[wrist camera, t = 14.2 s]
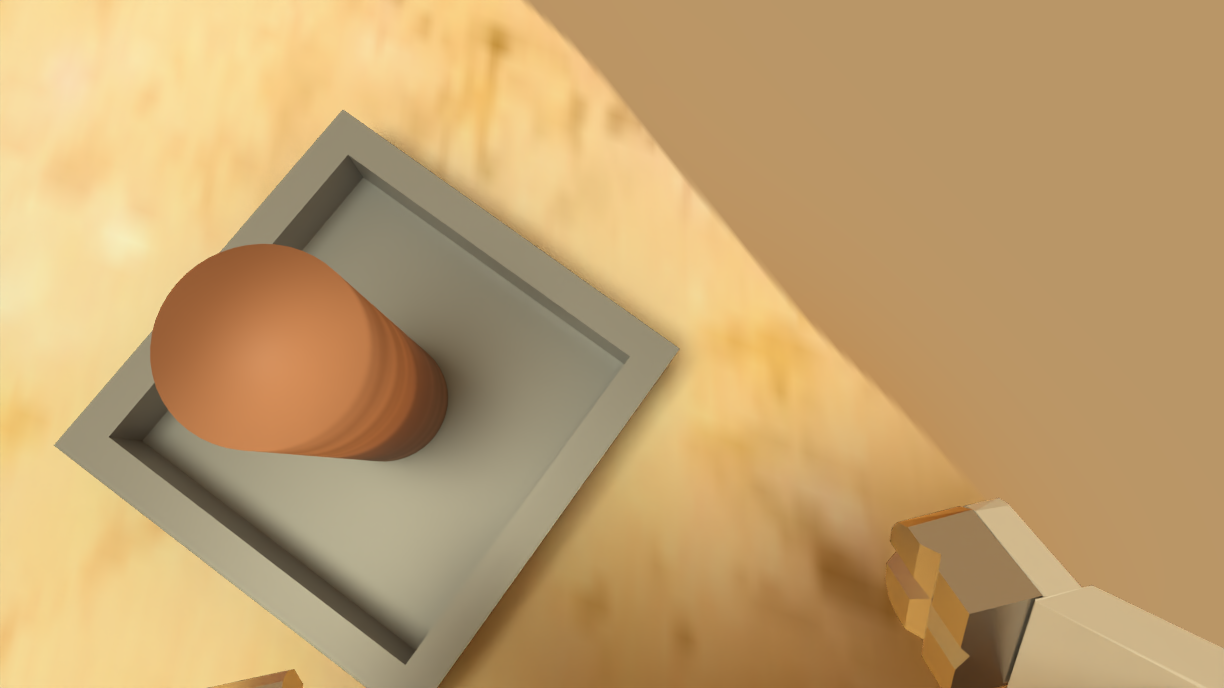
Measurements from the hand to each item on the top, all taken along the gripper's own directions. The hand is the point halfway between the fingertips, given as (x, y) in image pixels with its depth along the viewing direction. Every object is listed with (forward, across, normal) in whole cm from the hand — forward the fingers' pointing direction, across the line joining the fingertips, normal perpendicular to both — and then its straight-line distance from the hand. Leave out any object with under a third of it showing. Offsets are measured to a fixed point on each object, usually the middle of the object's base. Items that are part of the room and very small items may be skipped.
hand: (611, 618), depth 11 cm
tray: (+14, +4, +6) cm, 15 cm away
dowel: (+13, +4, +5) cm, 15 cm away
